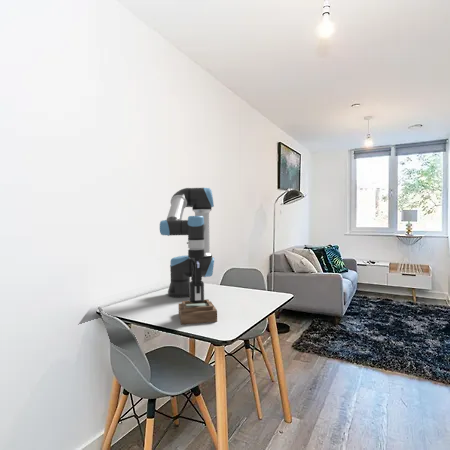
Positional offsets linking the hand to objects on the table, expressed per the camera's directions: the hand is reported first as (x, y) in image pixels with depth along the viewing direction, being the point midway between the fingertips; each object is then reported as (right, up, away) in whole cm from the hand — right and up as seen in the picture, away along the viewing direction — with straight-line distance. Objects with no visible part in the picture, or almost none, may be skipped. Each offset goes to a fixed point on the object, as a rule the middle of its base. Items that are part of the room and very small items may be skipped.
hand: (196, 298), depth 148 cm
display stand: (0, -9, 0) cm, 9 cm away
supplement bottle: (0, -2, 0) cm, 2 cm away
